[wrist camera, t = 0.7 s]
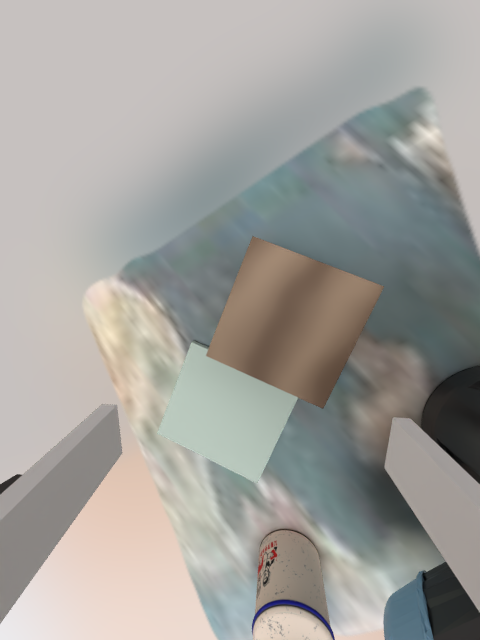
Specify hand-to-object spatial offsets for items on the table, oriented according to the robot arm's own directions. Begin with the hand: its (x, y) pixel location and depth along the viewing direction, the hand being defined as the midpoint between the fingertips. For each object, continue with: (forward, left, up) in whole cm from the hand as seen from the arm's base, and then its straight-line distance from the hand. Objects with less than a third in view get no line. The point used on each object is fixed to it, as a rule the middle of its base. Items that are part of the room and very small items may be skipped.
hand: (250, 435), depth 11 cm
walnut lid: (0, -5, -11) cm, 12 cm away
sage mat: (+2, +11, -21) cm, 24 cm away
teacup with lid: (-15, +29, -21) cm, 39 cm away
